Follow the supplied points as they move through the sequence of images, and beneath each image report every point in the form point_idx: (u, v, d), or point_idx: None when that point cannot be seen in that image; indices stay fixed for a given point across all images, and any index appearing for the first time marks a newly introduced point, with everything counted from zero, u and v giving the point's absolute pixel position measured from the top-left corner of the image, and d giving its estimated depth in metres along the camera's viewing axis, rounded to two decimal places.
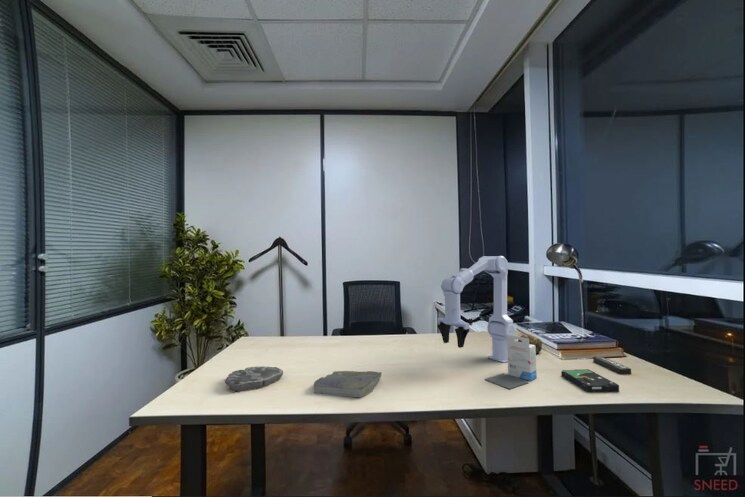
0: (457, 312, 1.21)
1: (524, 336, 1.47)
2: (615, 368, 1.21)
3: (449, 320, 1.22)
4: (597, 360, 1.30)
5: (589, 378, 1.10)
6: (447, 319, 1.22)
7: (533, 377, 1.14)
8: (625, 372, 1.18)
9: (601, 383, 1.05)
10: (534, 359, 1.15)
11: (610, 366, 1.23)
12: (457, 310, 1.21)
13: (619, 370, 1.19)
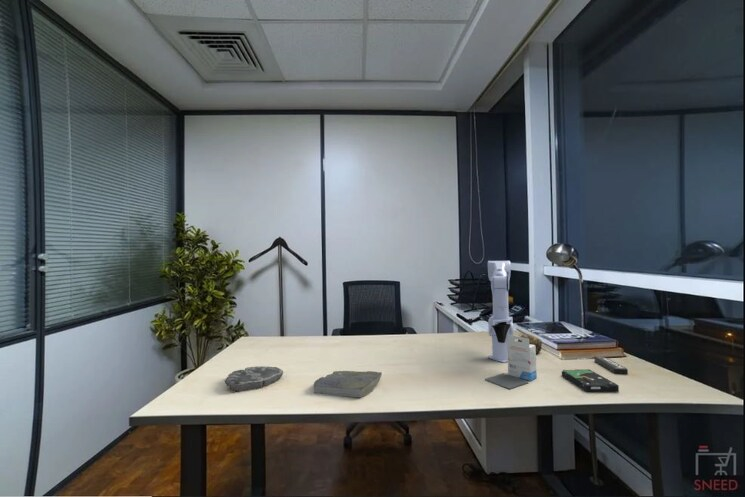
0: (496, 309, 1.24)
1: (524, 336, 1.47)
2: (611, 368, 1.21)
3: None
4: (597, 360, 1.30)
5: (589, 378, 1.10)
6: None
7: (533, 377, 1.14)
8: (621, 372, 1.19)
9: (600, 383, 1.05)
10: (534, 359, 1.15)
11: (607, 366, 1.23)
12: (496, 307, 1.24)
13: (614, 370, 1.19)
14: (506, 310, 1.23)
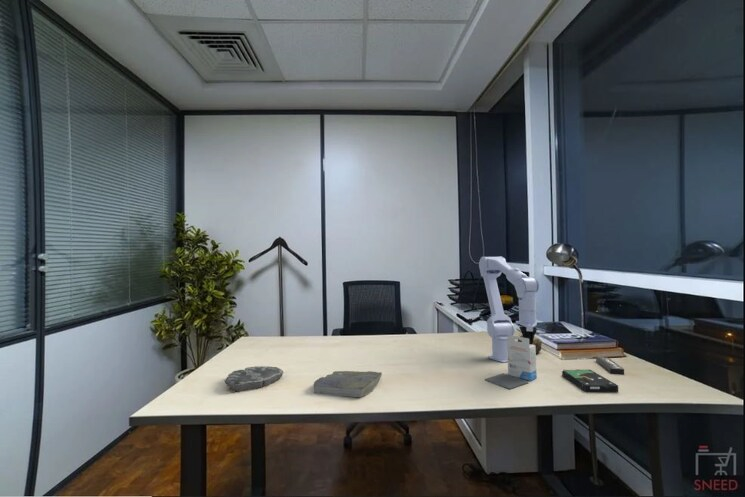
0: (527, 313, 1.18)
1: None
2: (608, 367, 1.21)
3: (520, 320, 1.20)
4: (598, 360, 1.31)
5: (589, 378, 1.10)
6: (519, 319, 1.21)
7: (533, 377, 1.14)
8: (617, 372, 1.19)
9: (600, 383, 1.05)
10: (534, 359, 1.15)
11: (605, 366, 1.24)
12: (527, 311, 1.18)
13: (610, 369, 1.20)
14: (535, 313, 1.19)
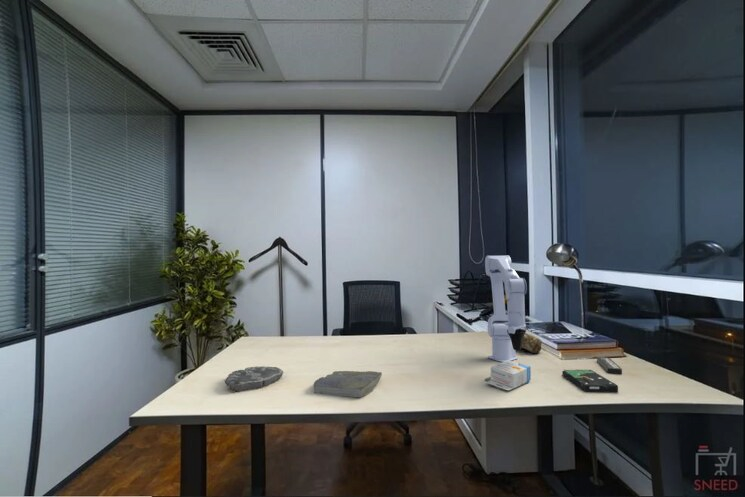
0: (513, 315, 1.15)
1: (524, 336, 1.47)
2: (606, 367, 1.22)
3: (507, 322, 1.18)
4: (598, 360, 1.31)
5: (589, 378, 1.10)
6: None
7: (529, 374, 1.12)
8: (614, 372, 1.19)
9: (600, 383, 1.05)
10: (521, 375, 1.08)
11: (604, 366, 1.24)
12: (513, 313, 1.15)
13: (608, 369, 1.20)
14: (523, 316, 1.15)
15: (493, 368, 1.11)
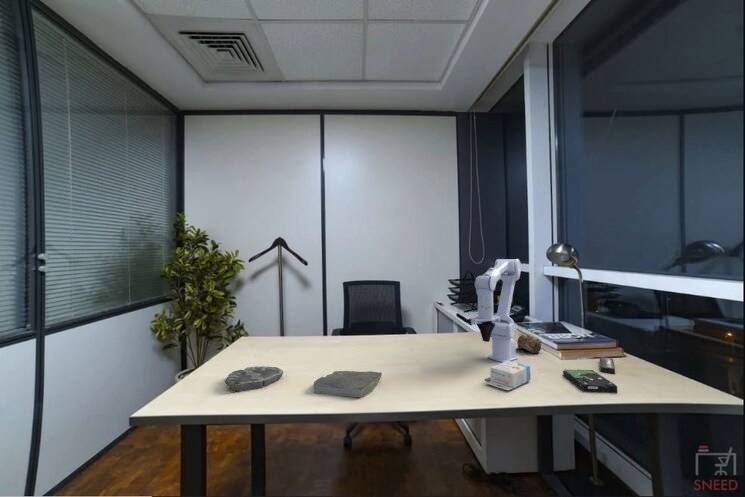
0: (480, 309, 1.26)
1: (523, 336, 1.47)
2: (600, 366, 1.23)
3: None
4: None
5: (589, 378, 1.10)
6: None
7: (529, 374, 1.12)
8: (607, 371, 1.20)
9: (599, 383, 1.05)
10: (520, 375, 1.09)
11: (600, 365, 1.25)
12: (480, 307, 1.26)
13: (600, 368, 1.21)
14: (489, 310, 1.25)
15: (492, 369, 1.11)
